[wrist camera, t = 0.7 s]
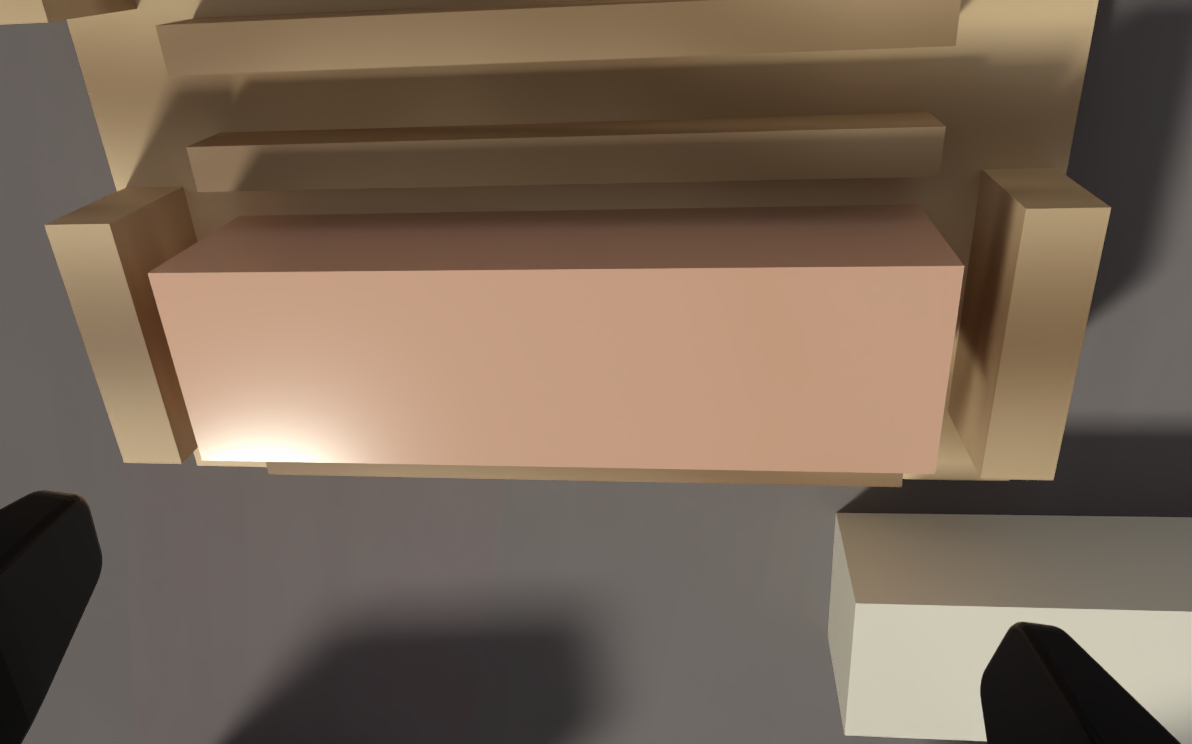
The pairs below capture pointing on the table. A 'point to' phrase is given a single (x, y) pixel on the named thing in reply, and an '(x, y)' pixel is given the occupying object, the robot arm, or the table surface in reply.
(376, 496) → the table surface
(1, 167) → the table surface
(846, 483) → the rack
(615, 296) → the fired brick
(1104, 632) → the long ivory plank
